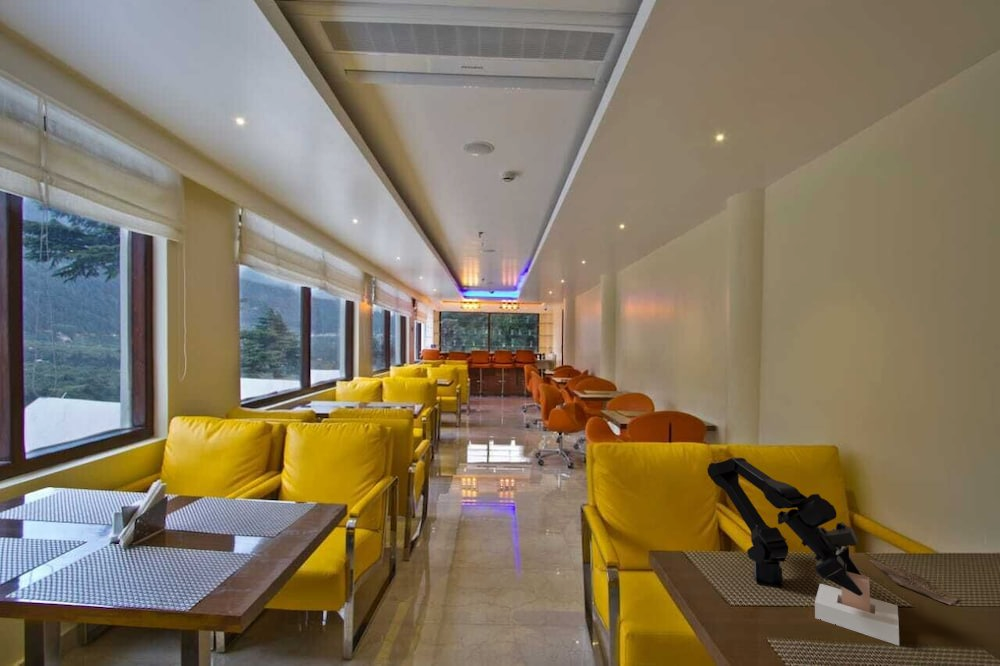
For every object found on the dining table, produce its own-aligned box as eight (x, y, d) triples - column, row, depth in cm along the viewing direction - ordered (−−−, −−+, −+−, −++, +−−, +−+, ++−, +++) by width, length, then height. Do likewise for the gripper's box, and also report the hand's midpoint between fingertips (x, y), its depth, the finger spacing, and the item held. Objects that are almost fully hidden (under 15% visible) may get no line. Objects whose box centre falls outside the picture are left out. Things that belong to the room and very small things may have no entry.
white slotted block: (815, 618, 112) (814, 602, 113) (820, 598, 121) (819, 583, 122) (899, 645, 102) (898, 628, 102) (898, 621, 111) (897, 605, 111)
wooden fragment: (973, 607, 117) (972, 603, 117) (930, 606, 118) (930, 602, 118) (891, 561, 143) (891, 558, 143) (857, 561, 143) (856, 558, 143)
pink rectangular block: (842, 614, 112) (841, 574, 113) (843, 608, 115) (841, 570, 115) (870, 623, 109) (868, 582, 109) (870, 617, 111) (869, 577, 111)
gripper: (830, 526, 108) (891, 587, 101) (836, 505, 122) (890, 558, 115) (793, 548, 113) (849, 609, 105) (803, 526, 127) (853, 578, 119)
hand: (861, 587), depth 111 cm, fingers open, 9 cm apart
